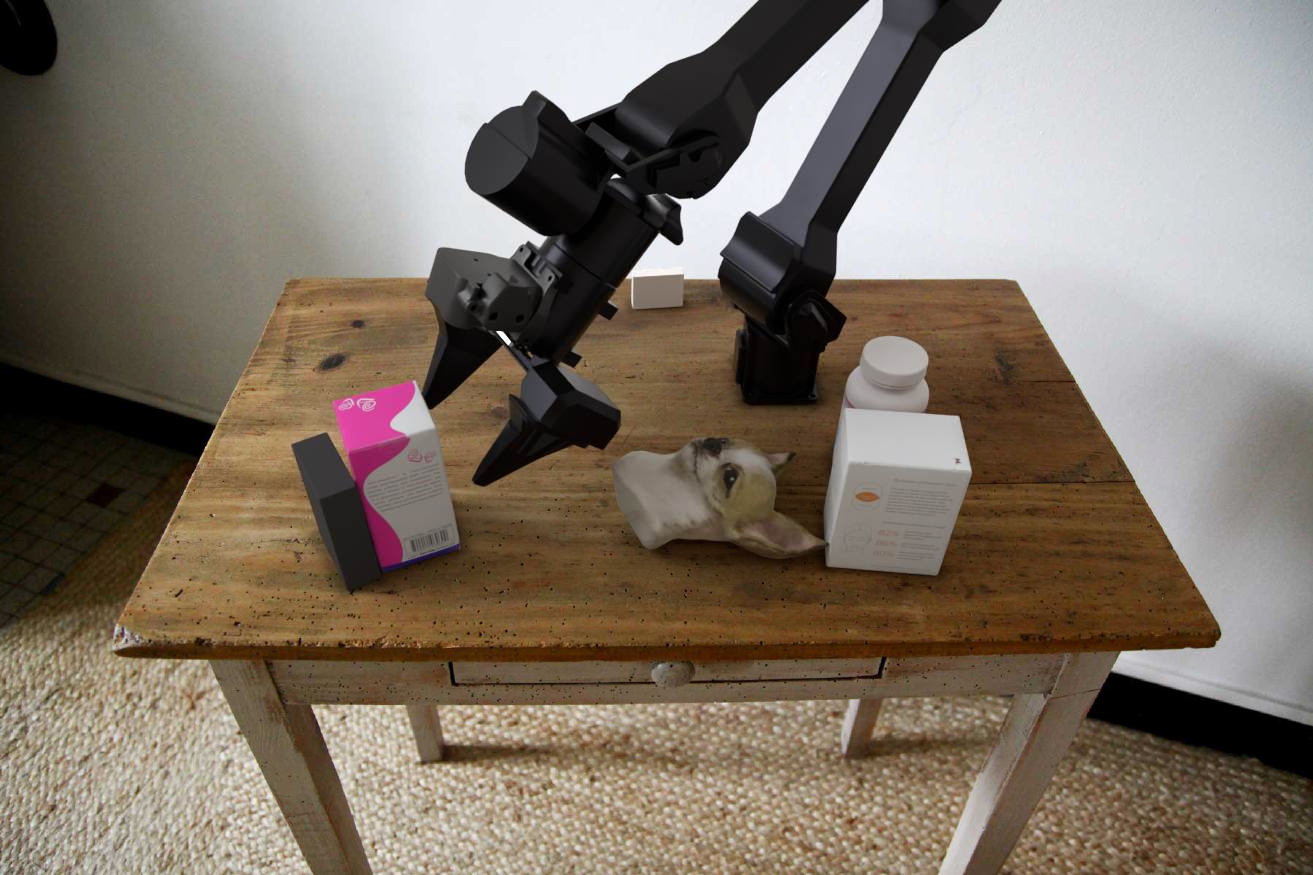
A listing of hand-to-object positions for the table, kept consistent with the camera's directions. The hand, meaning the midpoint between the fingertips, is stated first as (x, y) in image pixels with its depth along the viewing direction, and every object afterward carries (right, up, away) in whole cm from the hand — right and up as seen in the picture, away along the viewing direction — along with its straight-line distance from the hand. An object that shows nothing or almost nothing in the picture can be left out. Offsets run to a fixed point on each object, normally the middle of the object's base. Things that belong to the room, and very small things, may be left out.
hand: (449, 444), depth 64 cm
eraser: (+14, +13, +26) cm, 32 cm away
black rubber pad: (-7, -8, +1) cm, 11 cm away
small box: (+31, -7, +3) cm, 32 cm away
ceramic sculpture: (+18, -6, +4) cm, 20 cm away
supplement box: (-3, -7, +3) cm, 8 cm away
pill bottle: (+31, -2, +9) cm, 33 cm away
